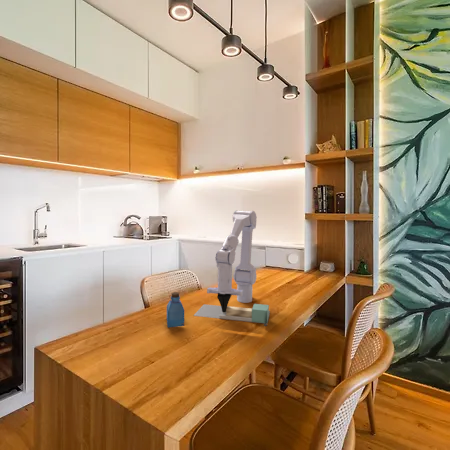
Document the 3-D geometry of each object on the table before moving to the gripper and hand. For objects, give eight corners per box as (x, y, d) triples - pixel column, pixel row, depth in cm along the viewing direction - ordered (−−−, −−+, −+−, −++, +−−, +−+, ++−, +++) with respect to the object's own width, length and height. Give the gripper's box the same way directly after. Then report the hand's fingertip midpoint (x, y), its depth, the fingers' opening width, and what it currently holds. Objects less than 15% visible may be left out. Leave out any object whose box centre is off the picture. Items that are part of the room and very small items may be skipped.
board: (203, 306, 132) (203, 293, 132) (269, 313, 125) (270, 299, 125) (193, 317, 118) (193, 303, 118) (266, 326, 111) (267, 310, 111)
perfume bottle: (167, 327, 109) (167, 296, 108) (166, 321, 115) (166, 291, 114) (184, 325, 111) (184, 295, 110) (182, 319, 116) (182, 290, 116)
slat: (226, 317, 117) (226, 308, 117) (227, 314, 120) (228, 306, 120) (255, 320, 114) (255, 311, 114) (256, 317, 117) (256, 309, 117)
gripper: (204, 280, 116) (204, 313, 117) (240, 282, 112) (239, 316, 113) (209, 275, 122) (209, 307, 123) (243, 278, 119) (243, 310, 120)
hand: (224, 311), depth 119 cm, fingers closed
